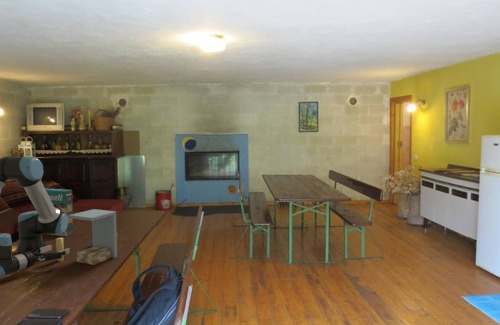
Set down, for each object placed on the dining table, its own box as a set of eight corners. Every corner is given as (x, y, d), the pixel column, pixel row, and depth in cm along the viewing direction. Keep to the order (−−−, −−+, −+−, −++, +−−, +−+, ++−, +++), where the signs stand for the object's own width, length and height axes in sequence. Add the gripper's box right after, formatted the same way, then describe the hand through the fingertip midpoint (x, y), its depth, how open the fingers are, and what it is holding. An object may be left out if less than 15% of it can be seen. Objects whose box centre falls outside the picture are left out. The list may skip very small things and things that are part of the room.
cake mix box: (40, 233, 265) (38, 189, 263) (47, 231, 271) (46, 188, 268) (67, 236, 259) (65, 191, 256) (73, 233, 265) (72, 189, 262)
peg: (55, 260, 211) (54, 239, 210) (60, 258, 214) (59, 237, 213) (59, 261, 209) (59, 239, 208) (65, 259, 213) (64, 238, 212)
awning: (71, 262, 209) (69, 215, 206) (95, 253, 224) (94, 209, 222) (93, 266, 202) (92, 218, 200) (117, 256, 218) (116, 211, 215)
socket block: (77, 261, 210) (76, 252, 209) (94, 255, 221) (93, 246, 220) (93, 264, 205) (93, 255, 204) (110, 257, 216) (110, 249, 215)
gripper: (6, 265, 197) (44, 252, 216) (41, 272, 187) (77, 258, 206) (5, 250, 196) (43, 239, 216) (40, 257, 186) (76, 245, 206)
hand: (60, 248), depth 211 cm, fingers open, 13 cm apart
